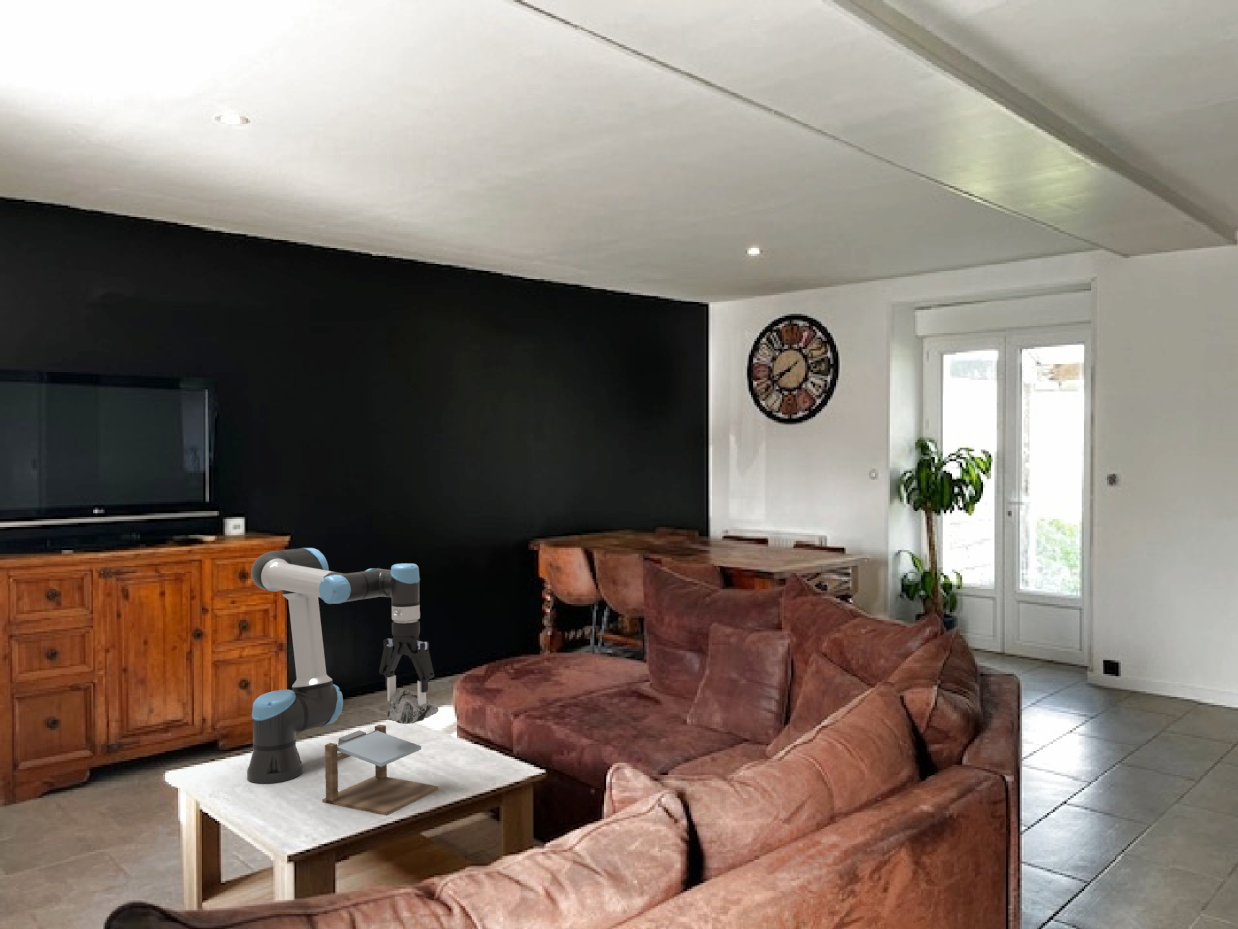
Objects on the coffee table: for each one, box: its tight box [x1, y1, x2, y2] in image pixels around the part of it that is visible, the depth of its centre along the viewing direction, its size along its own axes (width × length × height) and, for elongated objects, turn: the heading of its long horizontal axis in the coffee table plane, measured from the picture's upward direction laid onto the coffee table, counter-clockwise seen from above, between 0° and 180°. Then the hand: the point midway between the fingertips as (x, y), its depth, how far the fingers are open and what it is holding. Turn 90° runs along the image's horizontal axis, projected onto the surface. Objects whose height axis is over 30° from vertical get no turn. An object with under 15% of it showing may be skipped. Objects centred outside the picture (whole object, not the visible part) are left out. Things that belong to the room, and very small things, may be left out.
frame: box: [321, 724, 439, 816], centre depth 252 cm, size 22×21×15 cm
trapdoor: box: [337, 729, 422, 767], centre depth 253 cm, size 19×17×2 cm
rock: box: [386, 690, 439, 725], centre depth 257 cm, size 15×10×7 cm
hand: (406, 702), depth 256 cm, fingers closed on rock, 10 cm apart
